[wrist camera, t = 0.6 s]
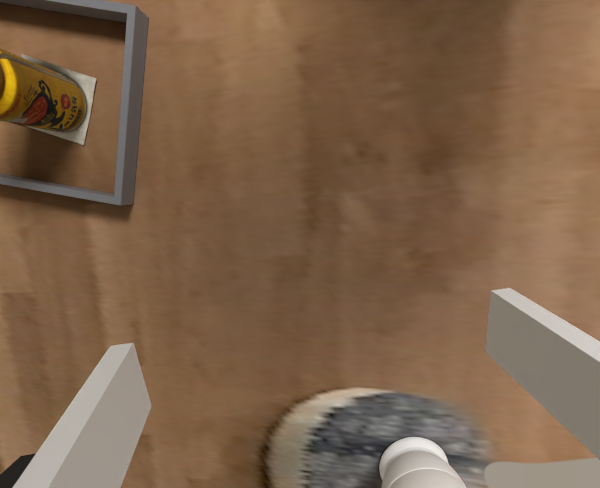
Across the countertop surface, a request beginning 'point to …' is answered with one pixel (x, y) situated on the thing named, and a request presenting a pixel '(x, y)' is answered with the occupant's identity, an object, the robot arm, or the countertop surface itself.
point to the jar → (417, 466)
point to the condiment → (45, 96)
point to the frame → (93, 5)
